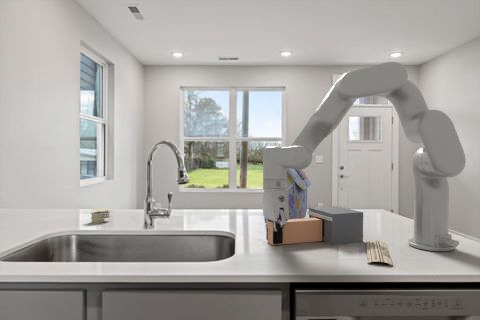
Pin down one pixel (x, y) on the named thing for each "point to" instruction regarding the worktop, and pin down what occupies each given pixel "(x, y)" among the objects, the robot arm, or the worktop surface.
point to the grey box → (339, 224)
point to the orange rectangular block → (298, 231)
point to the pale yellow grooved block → (100, 215)
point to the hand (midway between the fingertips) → (274, 241)
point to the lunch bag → (297, 193)
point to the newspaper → (377, 252)
